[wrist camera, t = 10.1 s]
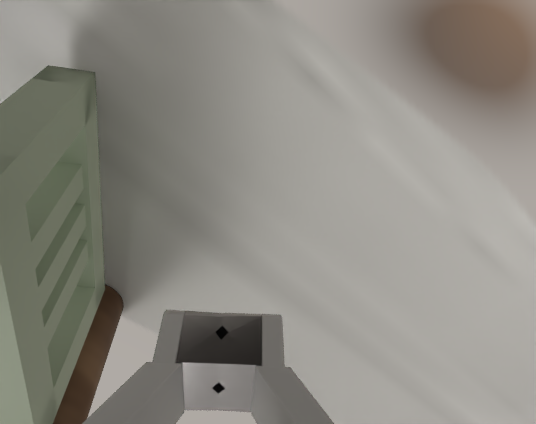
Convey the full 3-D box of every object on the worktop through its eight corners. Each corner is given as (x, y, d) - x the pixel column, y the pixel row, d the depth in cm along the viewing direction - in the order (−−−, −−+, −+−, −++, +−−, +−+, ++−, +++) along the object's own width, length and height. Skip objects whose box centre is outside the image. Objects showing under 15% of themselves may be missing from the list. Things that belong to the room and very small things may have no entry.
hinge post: (123, 330, 25) (49, 567, 16) (58, 317, 25) (-55, 556, 16) (134, 286, 24) (58, 525, 15) (65, 270, 23) (-59, 510, 14)
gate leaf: (70, 285, 22) (-10, 452, 16) (48, 65, 16) (-96, 181, 10) (105, 289, 22) (40, 455, 16) (95, 72, 17) (-15, 190, 10)
